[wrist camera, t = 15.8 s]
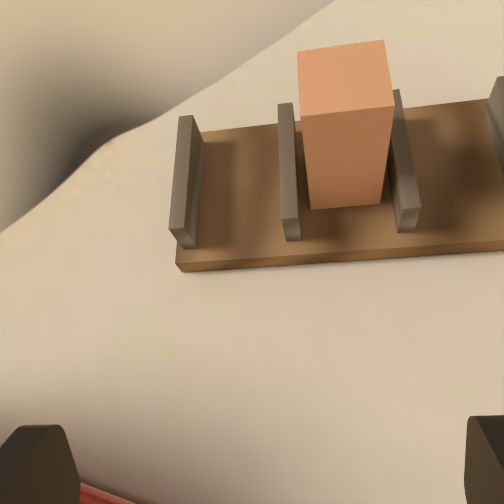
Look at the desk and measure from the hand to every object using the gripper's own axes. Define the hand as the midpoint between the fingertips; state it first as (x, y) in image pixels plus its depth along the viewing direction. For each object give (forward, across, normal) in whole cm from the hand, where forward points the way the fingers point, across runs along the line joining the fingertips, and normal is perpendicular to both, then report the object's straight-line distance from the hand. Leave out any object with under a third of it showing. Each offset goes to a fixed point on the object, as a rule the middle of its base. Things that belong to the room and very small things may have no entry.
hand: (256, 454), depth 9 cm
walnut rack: (+25, -4, +1) cm, 25 cm away
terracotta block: (+24, -4, 0) cm, 24 cm away
